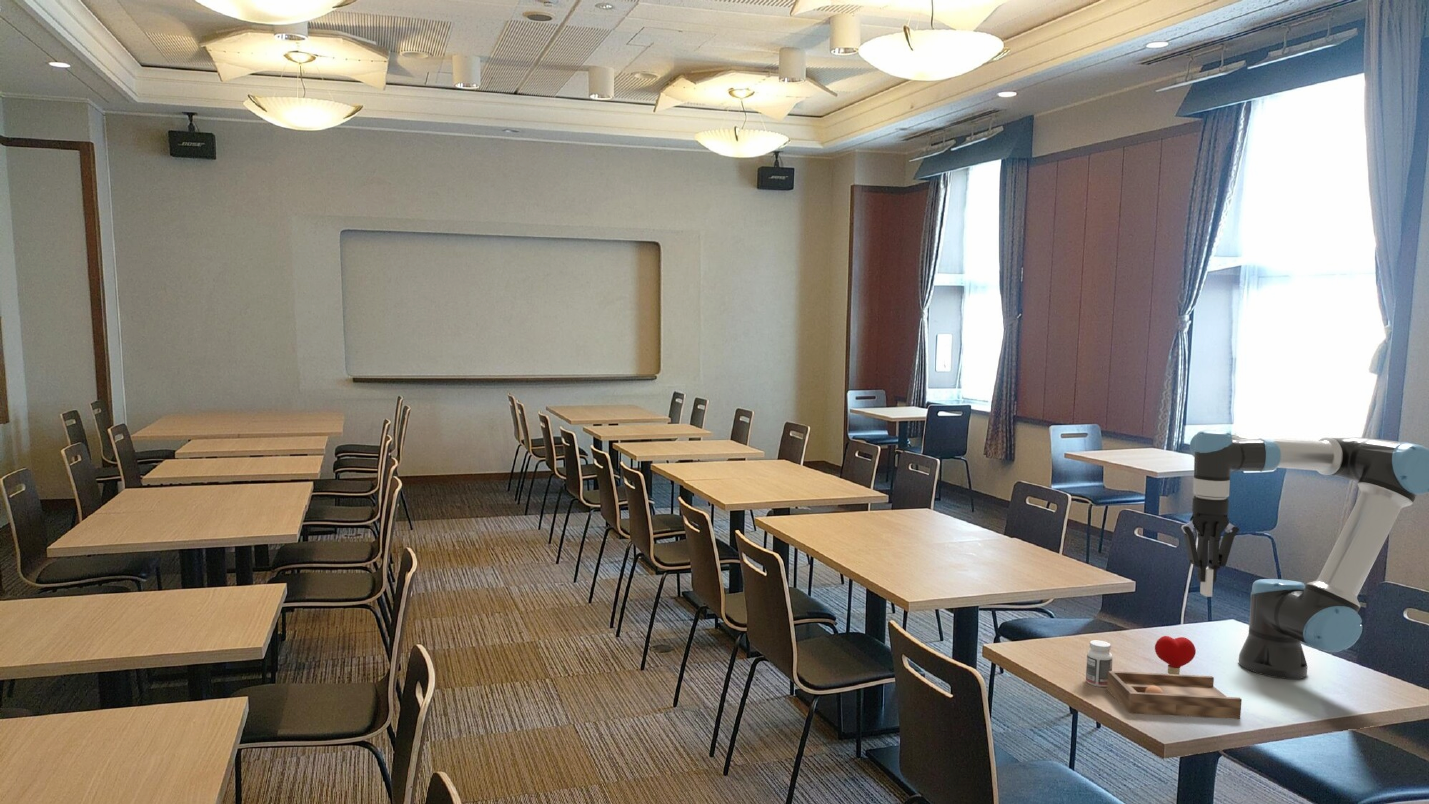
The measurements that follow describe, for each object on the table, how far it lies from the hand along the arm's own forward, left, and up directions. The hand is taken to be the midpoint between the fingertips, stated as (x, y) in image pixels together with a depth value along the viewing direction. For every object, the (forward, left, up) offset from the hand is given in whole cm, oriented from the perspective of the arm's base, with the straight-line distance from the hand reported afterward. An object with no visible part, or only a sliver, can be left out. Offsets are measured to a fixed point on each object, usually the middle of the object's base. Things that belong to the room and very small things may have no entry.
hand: (1206, 594), depth 219 cm
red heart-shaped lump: (+2, -9, -24) cm, 26 cm away
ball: (+15, +9, -23) cm, 29 cm away
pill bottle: (+23, -2, -24) cm, 33 cm away
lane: (+10, +9, -24) cm, 27 cm away
